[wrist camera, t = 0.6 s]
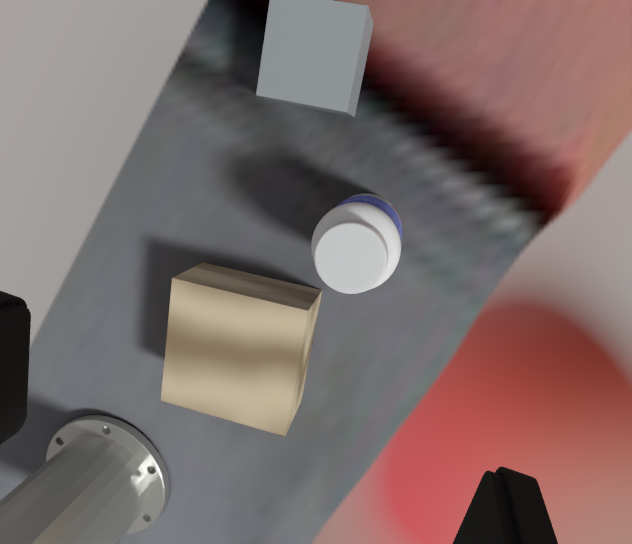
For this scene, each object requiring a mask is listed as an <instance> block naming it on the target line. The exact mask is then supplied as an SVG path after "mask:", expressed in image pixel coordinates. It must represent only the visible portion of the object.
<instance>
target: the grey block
mask: <svg viewBox="0 0 632 544" xmlns="http://www.w3.org/2000/svg"><path fill="white" fill-rule="evenodd" d="M373 24H374V23H373V20H372V17H371V13H370V10H369V7H368V6H366V5H359V4H353V3H347V2H340V1H334V0H270V2H269V9H268V16H267V23H266V30H265V36H264V43H263V50H262V57H261V64H260V71H259V78H258V85H257V92H256V95H257V96H260V97H262V98H265V99H268V100H270V101H273V102H278V103H283V104H289V105H294V106H299V107H304V108H309V109H315V110H320V111H325V112H330V113H335V114H341V115H346V116H351V117H355V112H356V107H357V102H358V98H359V93H360V88H361V83H362V78H363V73H364V68H365V63H366V59H367V54H368V49H369V44H370V39H371V34H372V29H373Z"/></svg>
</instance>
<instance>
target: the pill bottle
mask: <svg viewBox="0 0 632 544" xmlns="http://www.w3.org/2000/svg"><path fill="white" fill-rule="evenodd" d="M401 238H402V222H401V218H400V216H399V214H398V212H397V210H396V209H395V208H394V206H393V205H392V204H391V203H390V202H388V201H387V200H385V199H384V198H382V197H380V196H377V195H374V194H357V195H354V196H351V197H349V198H347V199H345V200H344V201H342V202H341V203H340V204H338V205H337V206H336V207H335V208H333V209H332V210H330V211H329V212H328V213H327V214H326V215H325V216H324V217H323V218H322V219H321V220H320V222H319V223H318V225H317V226H316V228H315V230H314V233H313V236H312V242H311V251H312V257H313V260H314V263H315V267H316V270H317V272H318V274H319V276H320V278H321V279H322V280H323V281H324V282H325V283H326V284H327V285H328V286H329V287H331V288H332V289H334V290H336V291H339V292H342V293H347V294H356V293H361V292H364V291H366V290H370V289H373V288H375V287H377V286H379V285H381V284H382V283H383V282H385V281H386V280H387V279H388V278H389V277H390V276H391V275H392V273H393V272H394V270H395V268H396V266H397V264H398V261H399V258H400V253H401Z"/></svg>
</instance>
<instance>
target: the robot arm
mask: <svg viewBox="0 0 632 544" xmlns="http://www.w3.org/2000/svg"><path fill="white" fill-rule="evenodd" d="M30 321H31V314H30V311H29V309H27V305H26V303H25V301H24V300H23V299H21V298H19V297H16V296H13V295H11V294H8V293H5V292H2V291H0V444H2V443H3V442H5V441H6V440H7V439H9V438H10V437H12V436H13V435H14V434H16V433H17V432H18V431H19V430H20V428H21V427H22V426H23V424H24V422H25V419H26V415H27V391H28V368H29V345H30ZM168 495H169V479H168V474H167V471H166V467H165V465H164V463H163V461H162V459H161V457H160V455H159V453H158V452H157V450H156V449H155V448H154V446H153V445H152V443H151V442H150V441H149V440H148V439H147V438H146V437H145V436H144V435H143V434H141V433H140V432H139V431H137V430H136V429H135V428H133V427H132V426H130V425H128V424H126V423H124V422H123V421H120V420H117V419H114V418H112V417H108V416H101V415H87V416H83V417H79V418H76V419H74V420H72V421H70V422H69V423H67V424H66V425H65V426H64V427H62V428H61V429H60V430H58V431H57V433H56V434H55V435H54V436H53V437H52V439H51V441H50V443H49V445H48V449H47V454H46V463H44V464H43V465H42V466H41V467H40V468H39V469H37V470H36V471H35V472H34V473H33V474H31V475H30V476H29V477H28V478H27V479H25V480H24V481H23V482H22V483H21V484H19V485H18V486H17V487H16V488H15V489H13V490H12V491H11V492H10V493H9V494H7V495H6V496H5V497H4V498H3V499H1V500H0V544H118V543H119V541H120V540H121V539H122V537H123V536H124V535H128V534H134V533H138V532H140V531H143V530H145V529H146V528H148V527H149V526H151V525H152V524H153V523H154V522H155V521H156V519H157V518H158V517H159V515H160V514H161V512H162V511H163V509H164V508H165V506H166V503H167V500H168ZM453 544H558V542H557V539H556V536H555V533H554V530H553V527H552V524H551V521H550V518H549V515H548V512H547V509H546V506H545V503H544V500H543V497H542V494H541V491H540V488H539V485H538V483H537V480H536V479H535V478H533V477H531V476H528V475H525V474H522V473H519V472H516V471H514V470H511V469H508V468H505V467H499V468H498V469H497V470H496V472H495V473H494V472H491V471H486V472H485V473H484V475H483V477H482V479H481V482H480V484H479V486H478V488H477V491H476V493H475V495H474V497H473V499H472V502H471V504H470V506H469V508H468V511H467V513H466V515H465V517H464V520H463V522H462V524H461V526H460V528H459V531H458V533H457V535H456V537H455V540H454V542H453Z"/></svg>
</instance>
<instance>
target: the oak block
mask: <svg viewBox="0 0 632 544" xmlns="http://www.w3.org/2000/svg"><path fill="white" fill-rule="evenodd" d="M321 294H322V290H319V289H315V288H310V287H306V286H302V285H298V284H293V283H289V282H285V281H281V280H276V279H272V278H268V277H264V276H259V275H255V274H251V273H247V272H242V271H238V270H234V269H230V268H225V267H221V266H217V265H213V264H208V263H204V262H202V263H200V264H199V265H197V266H195V267H193V268H191V269H189V270H187V271H185V272H183V273H181V274H179V275H177V276H175V277H173V278H172V285H171V296H170V307H169V318H168V328H167V339H166V350H165V361H164V372H163V383H162V394H161V401H164V402H167V403H171V404H174V405H178V406H181V407H185V408H188V409H192V410H195V411H199V412H202V413H206V414H209V415H213V416H216V417H220V418H223V419H227V420H230V421H234V422H237V423H241V424H244V425H248V426H251V427H254V428H258V429H261V430H265V431H268V432H272V433H275V434H279V435H282V436H286V433H287V431H288V429H289V427H290V425H291V422H292V420H293V418H294V416H295V414H296V411H297V409H298V407H299V405H300V403H301V399H302V394H303V388H304V383H305V378H306V373H307V367H308V362H309V357H310V352H311V346H312V341H313V336H314V331H315V325H316V320H317V315H318V310H319V304H320V299H321Z"/></svg>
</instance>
